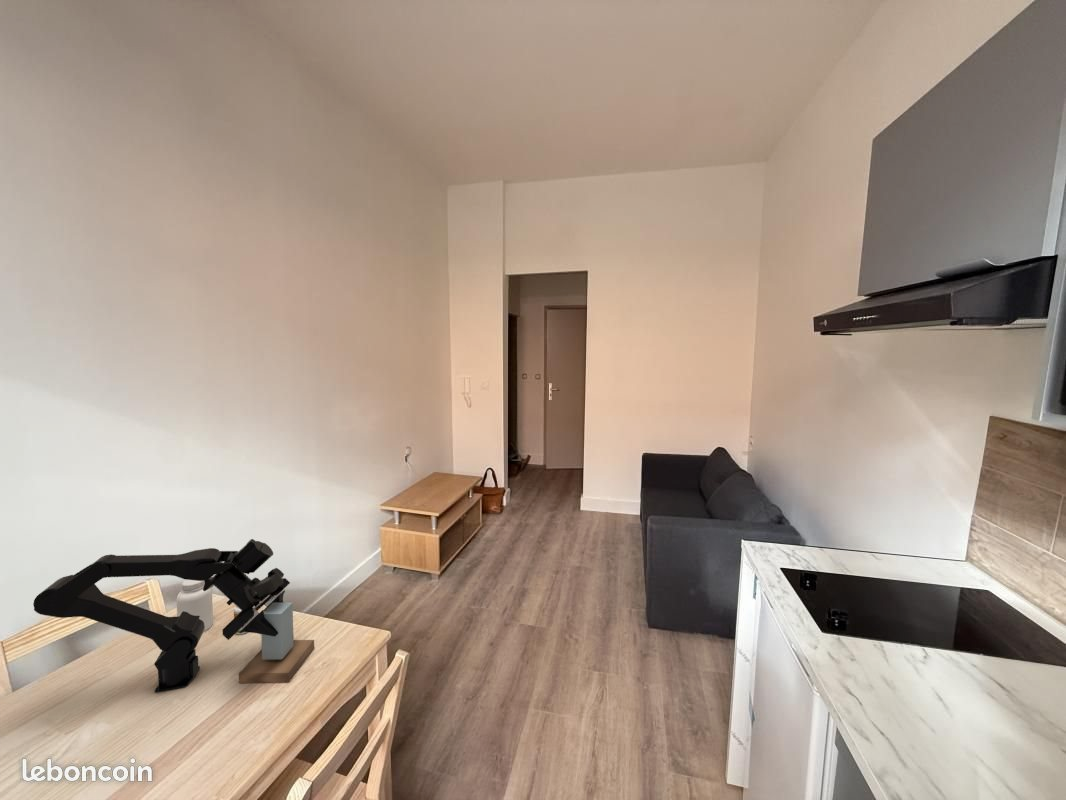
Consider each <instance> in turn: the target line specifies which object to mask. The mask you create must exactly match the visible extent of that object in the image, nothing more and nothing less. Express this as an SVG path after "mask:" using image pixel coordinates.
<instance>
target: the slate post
mask: <svg viewBox="0 0 1066 800" xmlns="http://www.w3.org/2000/svg"><path fill="white" fill-rule="evenodd" d="M293 605H294V603H293V602H291V601H290V602H288V601H287V602H284V601H283V602H281V603H272V604H271V605H270V606H269V607H268V608H267V609H266V610H265V611H264V618H265V619H266V620H267V621H268V622H269V623H270V624H271V625H272V626H273V627H274V628H275V629H276V630H277V632H278V634H277V635H276V636H275V637H274V636H269V635H263V634H260V636H261V649H262V660H267V659H283V658H284V657H285V655H286V654H287V653H288V652H289V651H290V649H291V648H292V647H293V640H294V613H293V612H294V611H293V610H294V609H293Z"/></svg>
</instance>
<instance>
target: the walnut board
mask: <svg viewBox="0 0 1066 800" xmlns="http://www.w3.org/2000/svg"><path fill="white" fill-rule="evenodd" d="M314 649H315V639H293V647H292V648H291V649H290V651H289V652H288V653H287V654H286V655H285V657H284V658H283V659H267V660H262V648H261V649H259V651H258V652H257V653H256V654H255V655H254V656H253V658H252V659H251V660H249V662H248V663H247V664H246V665H245V666H244V667H243V668H242V669H241V670H240V672H239V673H238V684H273V683H275V684H277V683H280V684H281V683H288V684H289V683H291V680H292V679H293V677H295V675H296V674H297V672H298V671H299V670H300V668H301V667H302V666H303V665H304V663H305V661H306V660H307V659H308V657H309V656H310V655H311V654H312V653H313V651H314Z"/></svg>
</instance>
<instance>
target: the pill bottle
mask: <svg viewBox="0 0 1066 800" xmlns="http://www.w3.org/2000/svg"><path fill="white" fill-rule="evenodd" d="M204 584H205V581H204V580H203V581H196V580H186V579H184V581H183V582H182V583H181V591H179V593H178V594H177V596H176V617H178V616H180V615H181V613H182V612H183V611H185V612H188V613H189V614H191V615H194V616H200V617H199V619H200V620H202V621H203V622H204V626H205V628H204V632H206V631H208V630H209V629H210V628H211V627H212V626H213V623H214V609H213V607H214V606H213V605H214V604H213V587H212V588H210V589H208V590H206V591H203V587H204Z"/></svg>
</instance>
